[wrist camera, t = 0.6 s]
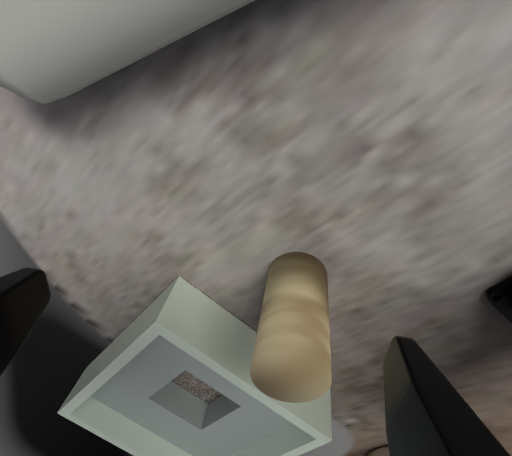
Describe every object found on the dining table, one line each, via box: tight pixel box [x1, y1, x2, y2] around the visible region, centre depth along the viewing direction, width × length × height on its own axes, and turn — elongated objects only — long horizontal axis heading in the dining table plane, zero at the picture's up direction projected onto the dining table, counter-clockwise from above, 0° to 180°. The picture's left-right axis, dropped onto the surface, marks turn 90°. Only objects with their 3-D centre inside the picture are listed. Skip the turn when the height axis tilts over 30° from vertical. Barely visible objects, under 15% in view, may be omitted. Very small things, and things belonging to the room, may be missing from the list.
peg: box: [250, 252, 332, 403], centre depth 21 cm, size 4×4×8 cm
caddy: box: [58, 276, 332, 456], centre depth 30 cm, size 16×16×4 cm
